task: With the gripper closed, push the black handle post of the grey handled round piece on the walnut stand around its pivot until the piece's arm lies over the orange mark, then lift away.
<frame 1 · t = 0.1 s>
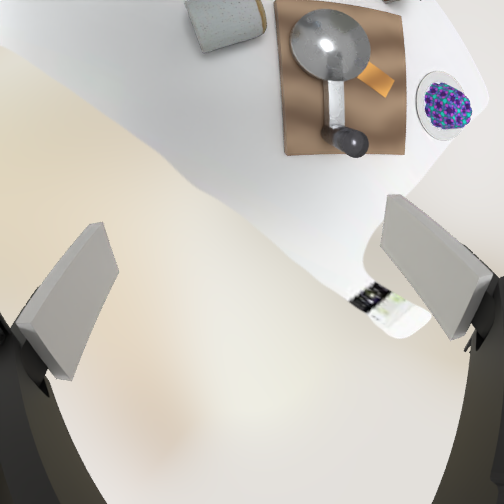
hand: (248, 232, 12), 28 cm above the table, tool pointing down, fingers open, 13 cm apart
pudding: (440, 105, 34), on the table
ceramic mug: (220, 17, 27), on the table
grey handled round piece: (341, 74, 27), point 7 cm above the table, hinge at 0.0°
stand: (344, 76, 32), on the table
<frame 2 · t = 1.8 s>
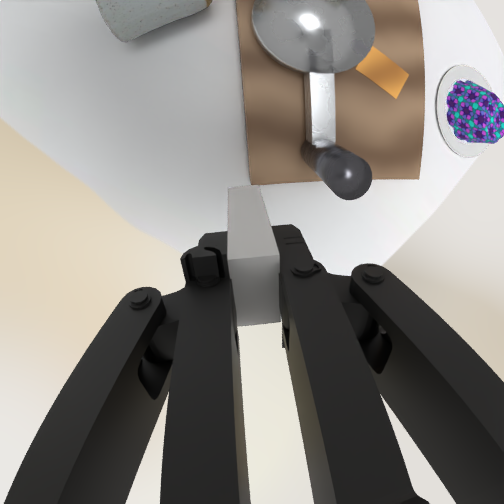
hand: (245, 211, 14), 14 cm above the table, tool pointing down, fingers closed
pudding: (465, 110, 24), on the table
grey handled round piece: (330, 63, 16), point 7 cm above the table, hinge at 0.0°
stand: (337, 67, 22), on the table
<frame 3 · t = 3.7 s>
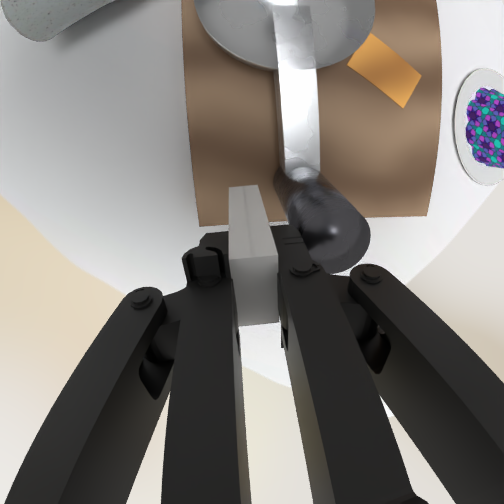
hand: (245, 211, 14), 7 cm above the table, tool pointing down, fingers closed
pudding: (487, 126, 18), on the table
grey handled round piece: (305, 52, 10), point 7 cm above the table, hinge at 2.7°, touching gripper
stand: (322, 64, 16), on the table
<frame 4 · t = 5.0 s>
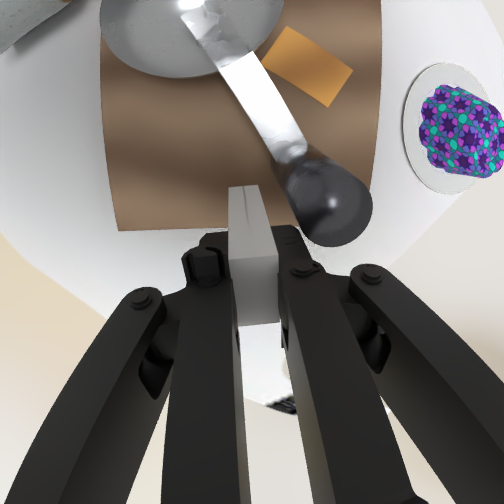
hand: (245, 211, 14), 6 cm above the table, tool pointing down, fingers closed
pudding: (449, 128, 19), on the table
grey handled round piece: (228, 43, 10), point 6 cm above the table, hinge at 31.3°, touching gripper
stand: (241, 65, 16), on the table
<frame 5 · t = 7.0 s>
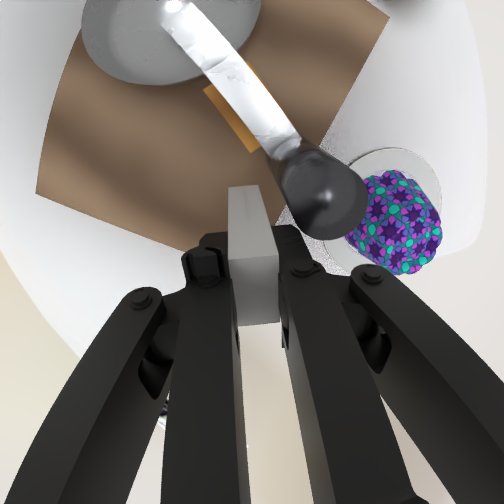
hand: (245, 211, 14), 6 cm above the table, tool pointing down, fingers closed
pudding: (383, 213, 23), on the table
grey handled round piece: (208, 46, 10), point 7 cm above the table, hinge at 61.6°, touching gripper
stand: (193, 83, 16), on the table
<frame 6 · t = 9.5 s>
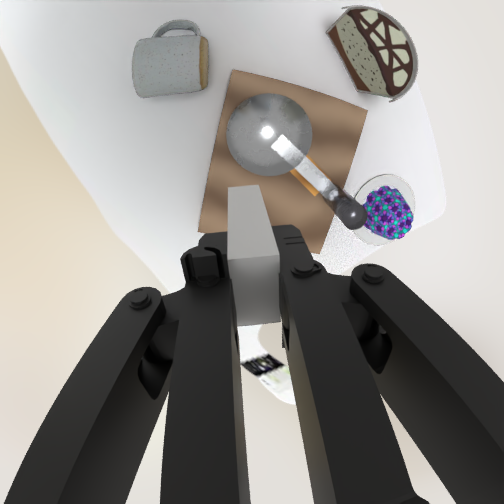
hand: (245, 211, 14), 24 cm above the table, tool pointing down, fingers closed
pudding: (382, 209, 42), on the table
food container: (359, 55, 30), on the table
ceramic mug: (176, 59, 29), on the table
grey handled round piece: (300, 162, 31), point 7 cm above the table, hinge at 61.9°
stand: (279, 165, 37), on the table
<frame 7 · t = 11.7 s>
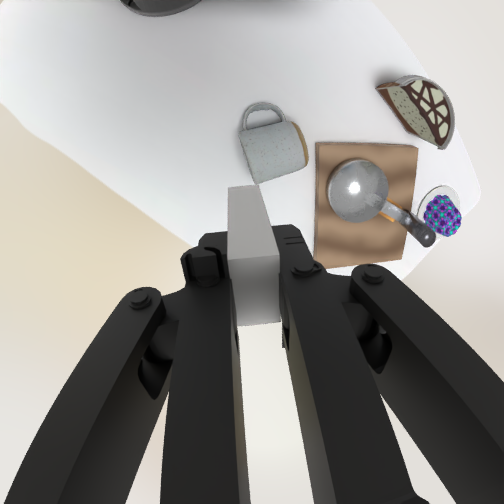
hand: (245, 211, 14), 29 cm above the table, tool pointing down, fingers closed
pudding: (437, 212, 49), on the table
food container: (402, 100, 37), on the table
ceramic mug: (265, 138, 40), on the table
grey handled round piece: (386, 209, 40), point 6 cm above the table, hinge at 61.9°
stand: (364, 205, 47), on the table
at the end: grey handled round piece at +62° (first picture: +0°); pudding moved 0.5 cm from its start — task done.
